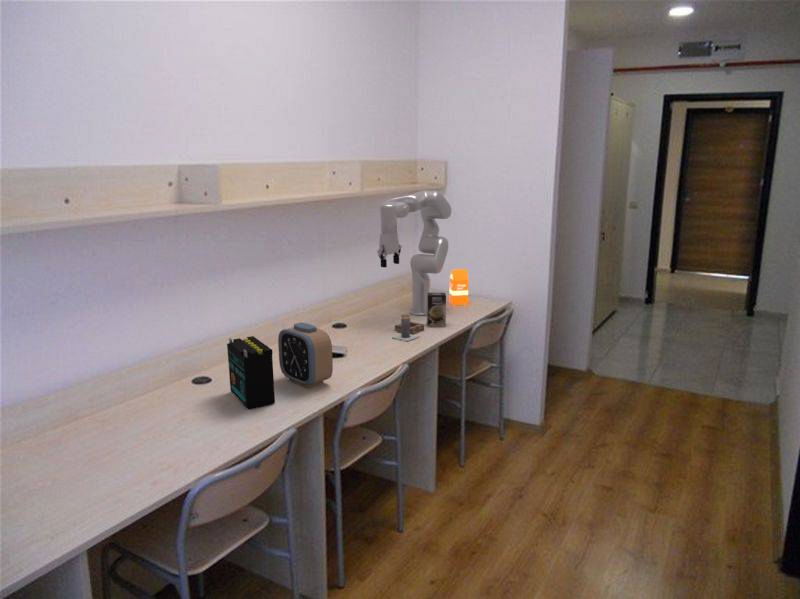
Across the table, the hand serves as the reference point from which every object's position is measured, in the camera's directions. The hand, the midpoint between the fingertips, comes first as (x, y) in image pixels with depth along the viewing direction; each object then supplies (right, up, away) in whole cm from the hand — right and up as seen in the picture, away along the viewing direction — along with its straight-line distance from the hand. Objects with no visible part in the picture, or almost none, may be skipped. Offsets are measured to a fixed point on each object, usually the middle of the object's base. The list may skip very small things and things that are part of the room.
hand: (390, 265), depth 295 cm
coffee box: (+23, -29, +8) cm, 38 cm away
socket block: (+9, -31, -2) cm, 33 cm away
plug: (+7, -33, -13) cm, 37 cm away
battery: (-47, -51, -82) cm, 107 cm away
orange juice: (+38, -19, +51) cm, 67 cm away
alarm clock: (-30, -47, -67) cm, 88 cm away
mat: (+7, -34, -13) cm, 37 cm away
